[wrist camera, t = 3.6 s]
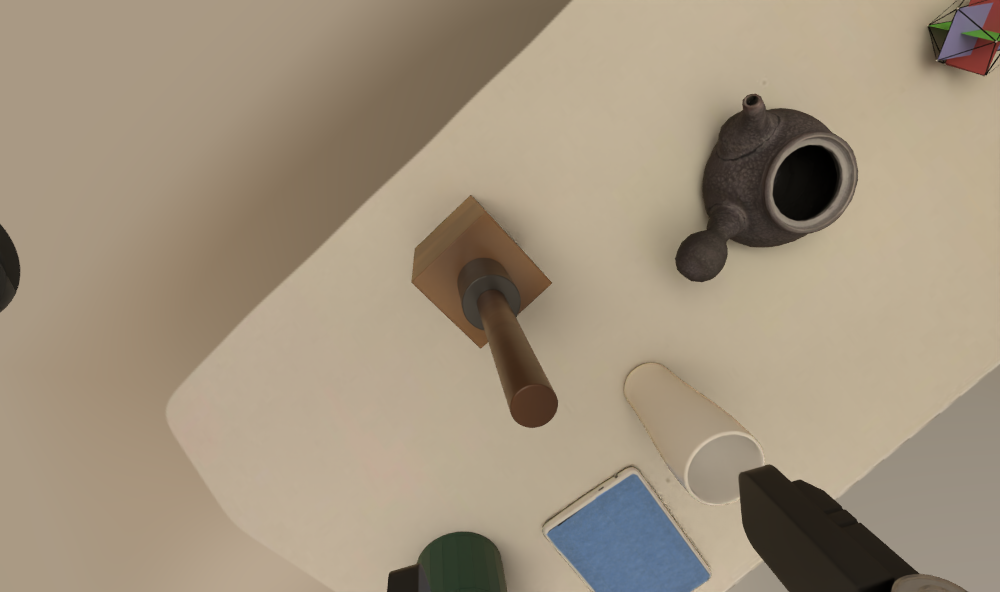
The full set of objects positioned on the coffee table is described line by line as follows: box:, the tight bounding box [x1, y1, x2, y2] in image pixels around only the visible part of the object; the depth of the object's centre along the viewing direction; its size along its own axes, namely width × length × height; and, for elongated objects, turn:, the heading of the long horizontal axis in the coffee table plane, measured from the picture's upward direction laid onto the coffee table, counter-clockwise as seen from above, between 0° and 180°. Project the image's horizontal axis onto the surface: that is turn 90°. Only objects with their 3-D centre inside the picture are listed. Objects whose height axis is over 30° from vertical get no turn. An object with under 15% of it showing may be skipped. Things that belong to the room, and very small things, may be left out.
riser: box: [412, 195, 552, 348], centre depth 42 cm, size 7×7×12 cm
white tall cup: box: [624, 363, 765, 506], centre depth 47 cm, size 7×7×15 cm
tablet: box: [542, 467, 712, 592], centre depth 59 cm, size 19×13×1 cm, turn 35°
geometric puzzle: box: [927, 0, 1000, 77], centre depth 45 cm, size 7×7×8 cm
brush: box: [457, 258, 558, 428], centre depth 28 cm, size 4×4×18 cm
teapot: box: [675, 94, 858, 282], centre depth 45 cm, size 19×15×10 cm
